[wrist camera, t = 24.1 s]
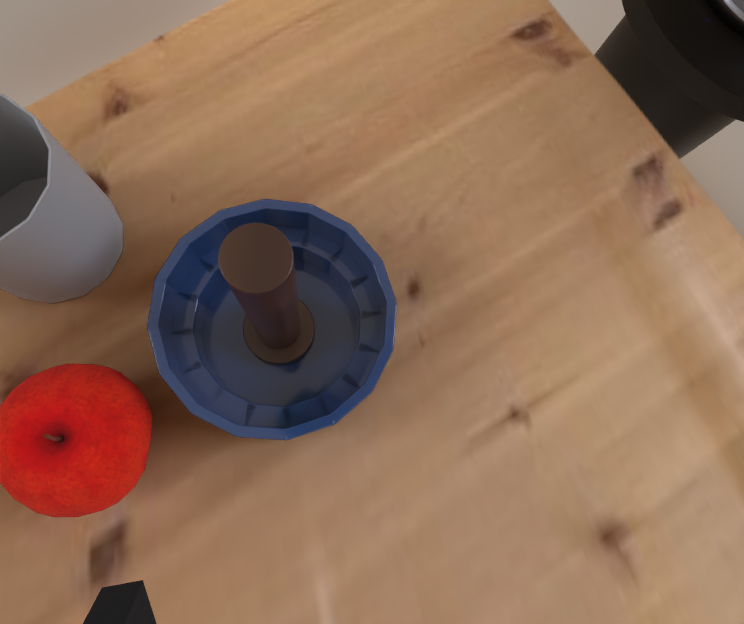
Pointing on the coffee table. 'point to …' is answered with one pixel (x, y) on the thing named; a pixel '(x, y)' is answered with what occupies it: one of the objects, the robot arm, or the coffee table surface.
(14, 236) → the cup
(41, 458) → the apple
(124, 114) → the coffee table surface
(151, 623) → the robot arm
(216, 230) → the bowl
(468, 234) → the coffee table surface
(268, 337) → the cylinder with round base
